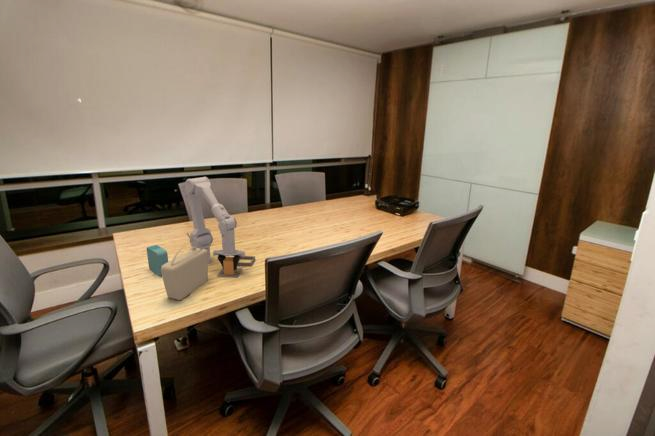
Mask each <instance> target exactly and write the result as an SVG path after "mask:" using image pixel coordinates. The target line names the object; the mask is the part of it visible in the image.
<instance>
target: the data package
mask: <svg viewBox="0 0 655 436" xmlns="http://www.w3.org/2000/svg"><path fill="white" fill-rule="evenodd" d="M146 255H147V263H148V268H149V270H150V271H151V272H152V273H154V274H156V275H157V276H158V277H162V274H161V266H162V265H164V264H165V263H167V262H169V257H168V251H167V250H166V249H165V248H163V247H162V246H160V245H158V244H155V245H150V246H147V247H146Z"/></svg>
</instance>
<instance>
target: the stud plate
mask: <svg viewBox="0 0 655 436" xmlns="http://www.w3.org/2000/svg"><path fill="white" fill-rule="evenodd" d="M243 269H244V268H240V267H239V268H238V267H237V269H236V272H235V273H234V275H224V270H223V268H221V269H220V271H219V272H218V274H217V275H216V278H227V279H228V278H229V279H230V278H232V279H233V278H235V279H239V276H240V275H241V273H242V272H243Z"/></svg>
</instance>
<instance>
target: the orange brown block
mask: <svg viewBox="0 0 655 436" xmlns="http://www.w3.org/2000/svg"><path fill="white" fill-rule="evenodd" d="M233 257H234V256H226V258H225V259H224V260H223V266H224V275H234V273H235V272H236V271H234V262H233Z"/></svg>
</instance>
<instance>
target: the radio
mask: <svg viewBox="0 0 655 436" xmlns="http://www.w3.org/2000/svg"><path fill="white" fill-rule="evenodd" d="M185 234H186V235H187V237H188V238H189V243H187V244H184V245H183V246H181V247H180V248H179V249H178V250H177V252H176V253H175V254H174V255H173V258H172V259H171V260H170V261H169V260H168V262H167V263H165V264H164V265H162V266H161V274H162V276H161V277H162V281H163V285H164V289H165V292H166V296H167V298H168V299H173V300H177V301H182V300H183V299H185V298H186V297H187V296H189V295H190V294H192V292H194V291H195V290H197V289H199V287H201V286H203V285H204V284H205V283H207V282H208V277H209V273H208V272H209V264H208V251H207V250H206V249H203V248H202V247H201V246H200V245H198V244H196V245H198V246H199V247H200V248H201V249H199V248H196V246H195V245H194V244H195V243H193V241H192V239H191V238H190V233H189V232H188V231H186V232H185ZM190 241H191V242H192V243H190ZM191 244H193V247H192V246H191V247H192V250H190V249H189V251H187V252H185V253H183V254H181V255H179V253H180V252H181V251H182V250H183V249H184V248H185V247H186V246H188V245H191ZM178 255H179V256H178Z"/></svg>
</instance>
